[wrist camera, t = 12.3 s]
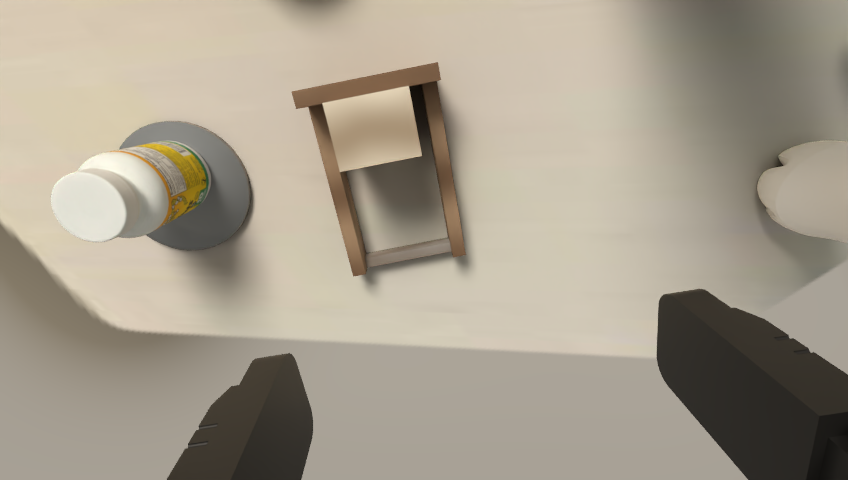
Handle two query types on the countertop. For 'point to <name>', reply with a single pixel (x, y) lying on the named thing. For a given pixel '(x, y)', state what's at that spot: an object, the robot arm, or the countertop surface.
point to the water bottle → (809, 190)
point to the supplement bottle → (131, 191)
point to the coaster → (225, 195)
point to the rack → (380, 149)
